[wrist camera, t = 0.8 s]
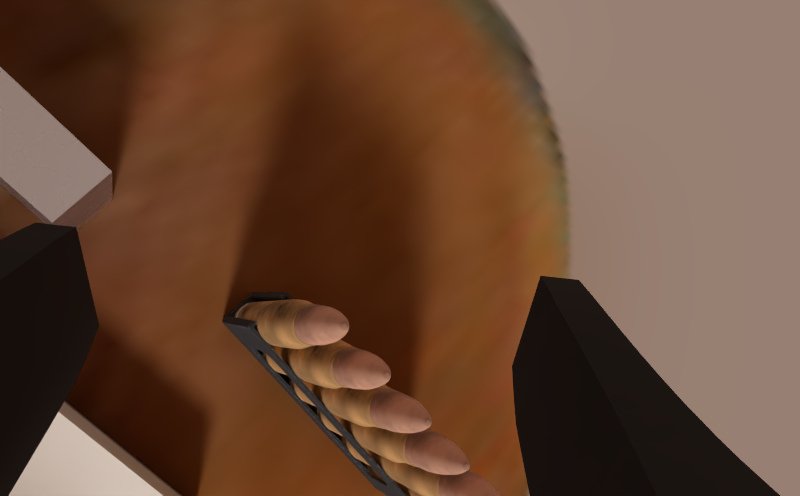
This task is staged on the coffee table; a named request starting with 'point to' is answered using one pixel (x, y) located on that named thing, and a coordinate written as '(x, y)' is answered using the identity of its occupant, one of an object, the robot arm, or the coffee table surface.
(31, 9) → the coffee table surface
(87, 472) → the white rectangular slab
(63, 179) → the rectangular block
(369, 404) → the ammunition clip
